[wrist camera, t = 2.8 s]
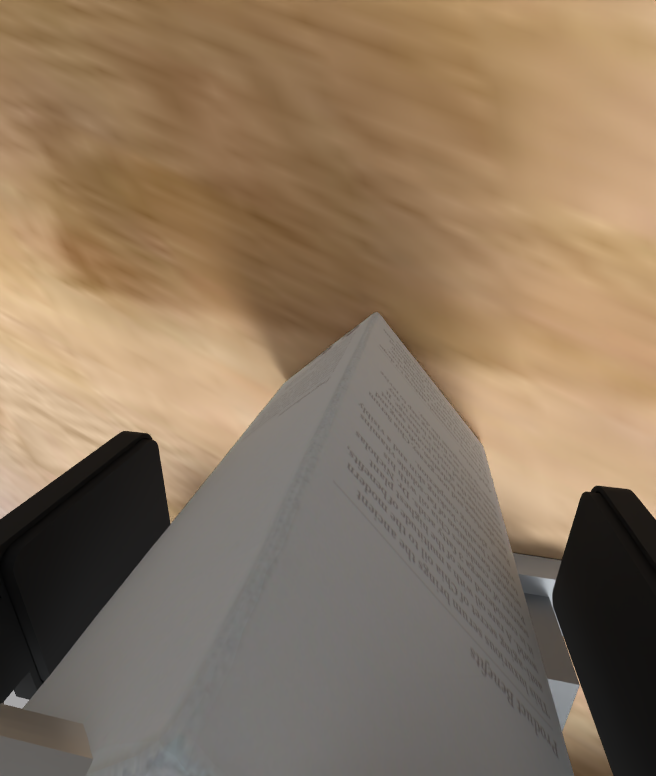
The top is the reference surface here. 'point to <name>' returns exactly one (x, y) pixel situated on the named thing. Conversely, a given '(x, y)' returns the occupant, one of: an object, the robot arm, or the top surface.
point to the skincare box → (324, 602)
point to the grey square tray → (548, 629)
